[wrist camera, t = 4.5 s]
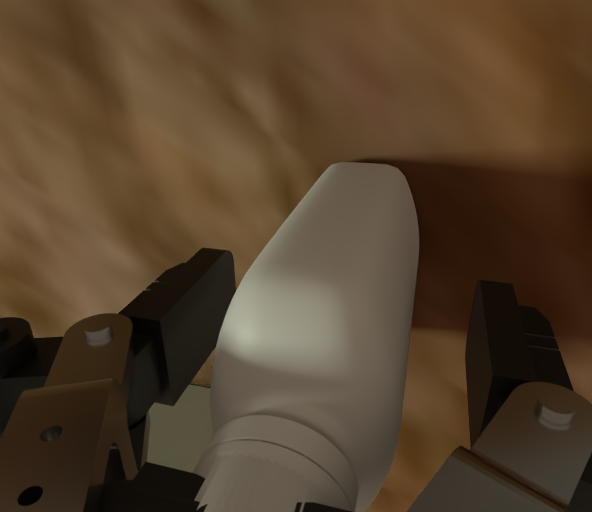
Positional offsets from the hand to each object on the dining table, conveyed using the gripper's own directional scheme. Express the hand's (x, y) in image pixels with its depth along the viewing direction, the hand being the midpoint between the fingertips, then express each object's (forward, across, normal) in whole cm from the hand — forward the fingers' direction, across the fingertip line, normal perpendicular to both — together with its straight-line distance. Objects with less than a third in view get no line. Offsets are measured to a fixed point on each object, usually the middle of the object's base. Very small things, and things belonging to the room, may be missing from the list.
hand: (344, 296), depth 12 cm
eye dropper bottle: (+3, 0, 0) cm, 3 cm away
